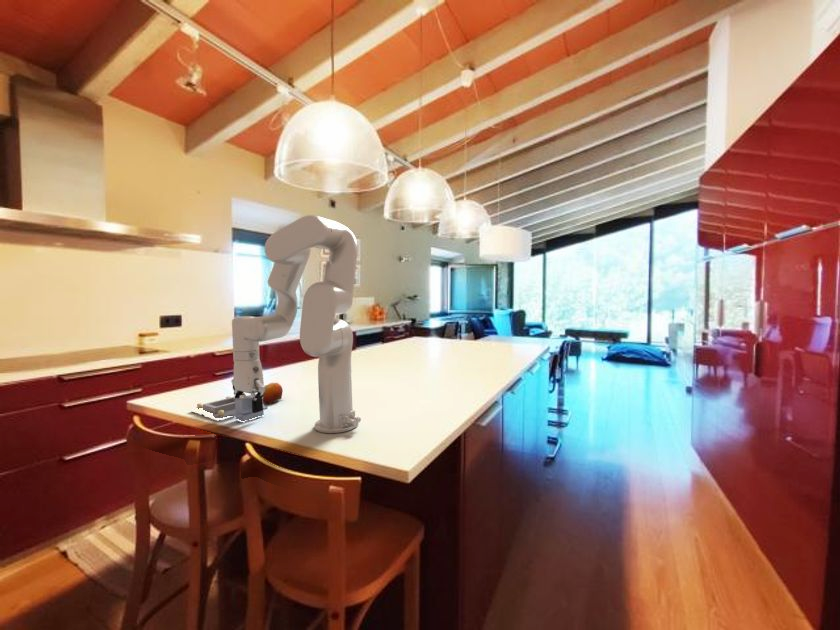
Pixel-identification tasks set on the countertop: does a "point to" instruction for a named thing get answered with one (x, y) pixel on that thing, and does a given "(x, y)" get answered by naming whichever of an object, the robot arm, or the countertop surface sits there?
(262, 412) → the servo
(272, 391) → the fruit
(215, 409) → the chassis
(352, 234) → the robot arm
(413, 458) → the countertop surface
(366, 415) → the countertop surface
